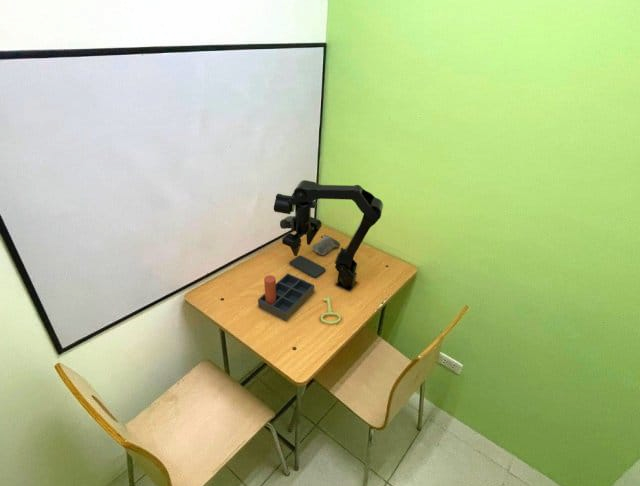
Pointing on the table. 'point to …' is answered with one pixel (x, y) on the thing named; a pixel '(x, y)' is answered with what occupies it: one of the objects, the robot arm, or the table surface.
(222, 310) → the table surface
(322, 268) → the phone
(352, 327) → the table surface
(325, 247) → the stone
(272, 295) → the reddish brown cylinder
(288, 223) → the robot arm
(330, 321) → the key
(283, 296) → the grid
